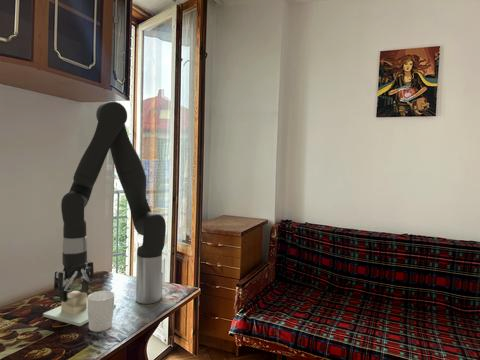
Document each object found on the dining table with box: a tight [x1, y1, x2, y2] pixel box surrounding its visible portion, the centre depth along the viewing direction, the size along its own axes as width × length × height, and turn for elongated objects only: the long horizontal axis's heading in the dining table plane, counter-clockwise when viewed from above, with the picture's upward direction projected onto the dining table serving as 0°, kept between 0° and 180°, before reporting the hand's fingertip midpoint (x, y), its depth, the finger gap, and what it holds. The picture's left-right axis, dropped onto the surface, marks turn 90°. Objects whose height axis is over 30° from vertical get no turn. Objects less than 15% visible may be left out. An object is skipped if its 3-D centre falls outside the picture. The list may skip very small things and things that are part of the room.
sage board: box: [42, 301, 117, 327], centre depth 118 cm, size 16×16×1 cm
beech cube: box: [60, 290, 88, 315], centre depth 116 cm, size 6×6×6 cm
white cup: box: [87, 290, 115, 333], centre depth 107 cm, size 8×8×10 cm
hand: (74, 296), depth 116 cm, fingers open, 8 cm apart
